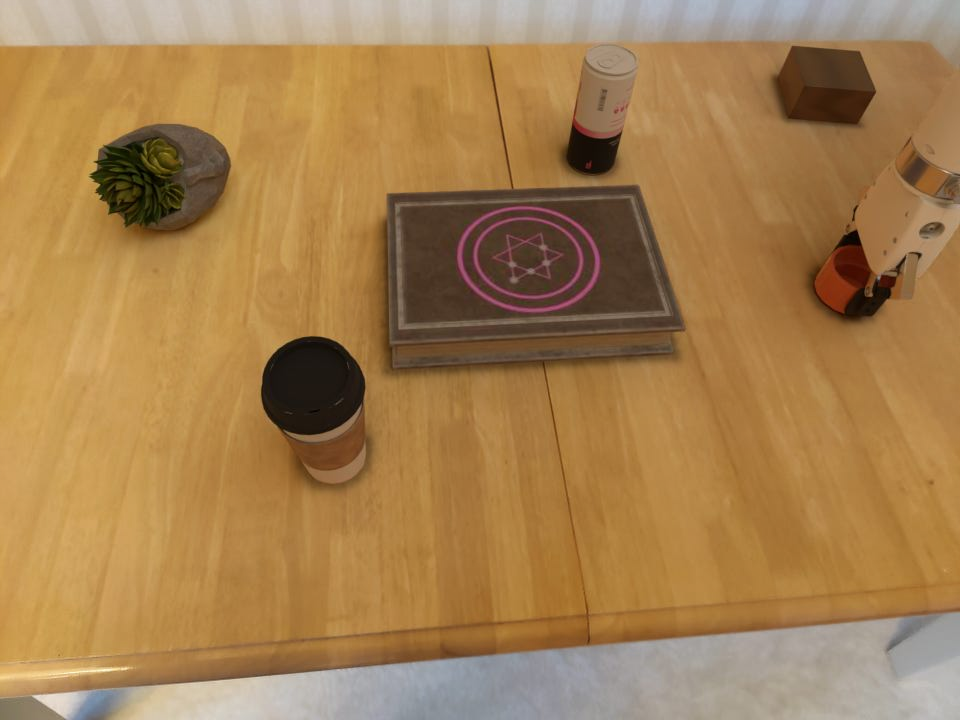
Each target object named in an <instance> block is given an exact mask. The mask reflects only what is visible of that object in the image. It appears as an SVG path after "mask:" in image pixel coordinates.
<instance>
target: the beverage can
mask: <svg viewBox="0 0 960 720" xmlns="http://www.w3.org/2000/svg"><path fill="white" fill-rule="evenodd" d="M638 72H639V57H638V55H637V53H635V52H634V51H633V50H632V49H630V48H629V47H627V46H626V45H625V46H624V45H621V44H619V43H613V42H604V43H597V44H594V45H593V46H590V47H589V48H588V49H587V50H586V52H585V55H584V57H583V59H582V64H581V69H580V75H579V82H578V87H577V93H576V97H575V105H574V110H573V115H572V121H571V126H570V133H569V138H568V144H567V150H566V161H567V163H568V164H569V166H570V167H572V168H573V169H574V170H575V171H577V172H579V173H582V174H585V175H593V176H595V175H602V174H604V173H607V172H608V171H610V170H611V169H612V168H614V165H615V162H616V159H617V154H618V151H619V146H620V142H621V138H622V134H623V130H624V127H625V123H626V119H627V115H628V111H629V107H630V103H631V98H632V96H633V91H634V88H635V87H634V86H635V82H636V79H637V76H638Z"/></svg>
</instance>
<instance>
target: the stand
mask: <svg viewBox="0 0 960 720" xmlns="http://www.w3.org/2000/svg"><path fill="white" fill-rule="evenodd" d="M777 82H778V86H779V90H780V94H781V97H782V101H783V104H784V109H785V111H786V115H787V119H789V120H800V121H810V122H822V123H823V122H824V123H835V124H846V125H847V124H848V125H858V124H859V122H860V120H861V119H862V118H863V116H864V114H865V112H866V111H867V109H868V107H869V105H870V104H871V102H872V100H873V99H874V97H875V96H876V93H877V90H876V87H875V85H874V82H873V79H872V76H871V75H870V72H869V69H868V68H867V65H866V62H865V60H864V57H863V54H862V52H861V50H852V49H849V50H848V49H839V48H838V49H837V48H825V47H813V46H801V45H791V46H790V49H789V52H788V54H787V56H786V58H785V60H784V63H783V66H782V67H781V70H780V71H779V74H778V76H777Z"/></svg>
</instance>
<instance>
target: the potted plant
mask: <svg viewBox="0 0 960 720" xmlns="http://www.w3.org/2000/svg"><path fill="white" fill-rule="evenodd" d="M92 163H95V164H96V170H94V171H93V172H91V173H89V176H88V178H90V179H92V182H93V183H96V184H98V185H99V186H97V188H96V189H95V191H94V194H97V196H100V198H99V199H98V201H101V202H104V203H106V204H107V206H108V213H107V216H109V215H113V214H117V215H118V216H120V217H121V219H123V220H124V222H123V225H124V228H125V229H126V228H128V227H130V226H131V225H134V224H136V225H139V228H141V227H142V226H143V227H144V229H146V230H147V228H149V229H152V230H160V231H161V230H162V231H177V230H179V229H182V228H184V227H186V226H188V225H191V224H193V223H194V222H195V221H196V220H198V219H199V218H200V217H202V216H203V215H205V214H206V213H207V212H208V211H209V210H211V209H213V208H214V207H215V206H216V204H217V203H218V201H219V200H220V198H221V196H222V195H223V193H224V191H225V188H226V186H227V182H228V178H229V174H230V171H231V168H232V162H231V157H230V155H229V152H228V151H227V148H226V146H225V145H224V144H223V143H222V142H221V141H219V140H218V139H217V138H216V136H214V135H213V134H210V133H208V132H206V131H205V130H203V129H200V128H199V127H195V126H191V125H186V124H181V123H153V124H150V125H144V126H142V127H139V128H137V129H134V130H132V131H130V132H127V133H125V134H124V135H121V136H119V137H118V138H116V139H114V140H113V141H111V142H109V143H107V144H102V147H100V148H99V149H98V151H97V160H93V161H92Z"/></svg>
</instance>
